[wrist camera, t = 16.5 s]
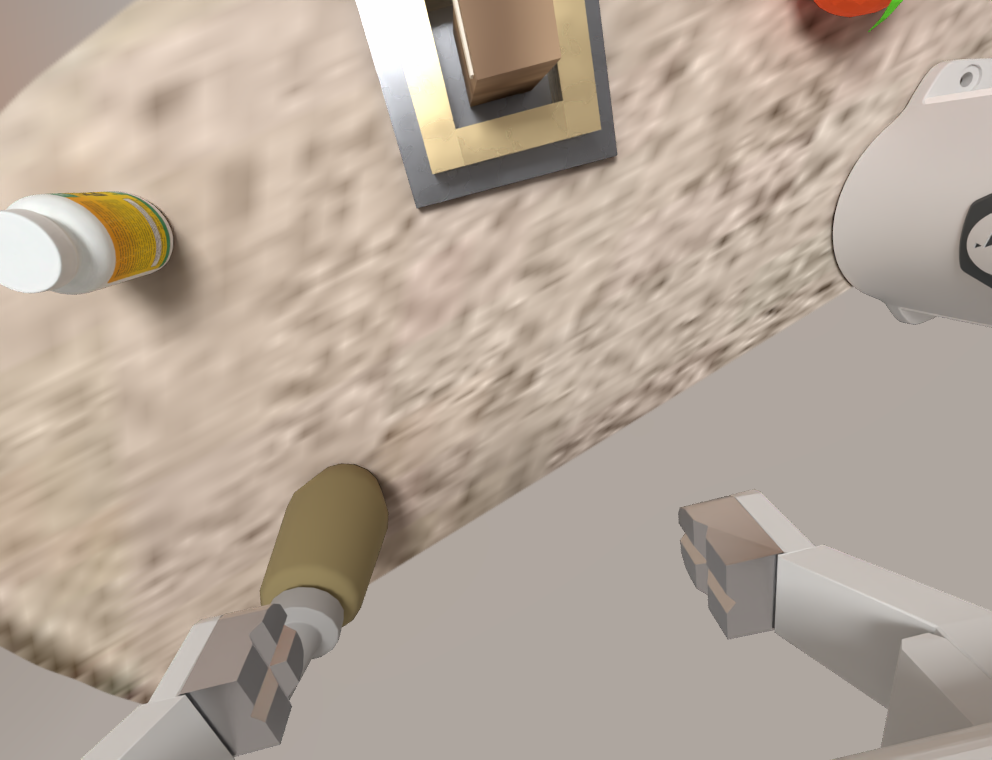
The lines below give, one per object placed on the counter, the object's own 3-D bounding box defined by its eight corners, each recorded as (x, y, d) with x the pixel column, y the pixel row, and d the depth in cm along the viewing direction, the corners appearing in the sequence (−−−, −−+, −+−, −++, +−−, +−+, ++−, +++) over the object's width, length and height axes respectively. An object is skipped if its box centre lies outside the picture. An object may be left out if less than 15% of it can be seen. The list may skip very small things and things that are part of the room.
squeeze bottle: (358, 540, 44) (303, 759, 27) (281, 497, 41) (168, 710, 25) (412, 483, 42) (387, 683, 25) (334, 434, 39) (250, 620, 23)
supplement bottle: (131, 286, 33) (16, 325, 24) (71, 214, 31) (-78, 228, 22) (194, 251, 33) (99, 278, 24) (138, 175, 31) (11, 175, 22)
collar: (579, -108, 27) (600, -153, 23) (612, 155, 33) (633, 153, 29) (344, -43, 27) (327, -78, 23) (417, 207, 33) (413, 211, 29)
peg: (517, 14, 28) (544, -53, 20) (531, 90, 30) (561, 57, 21) (450, 32, 28) (450, -27, 20) (467, 107, 30) (473, 81, 22)
